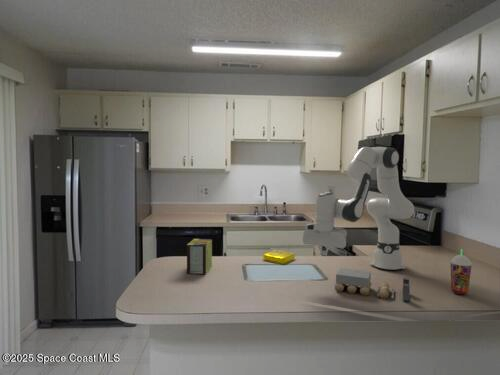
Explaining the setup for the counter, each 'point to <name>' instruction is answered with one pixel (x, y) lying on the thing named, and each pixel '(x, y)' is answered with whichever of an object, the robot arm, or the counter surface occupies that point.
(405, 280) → the posts
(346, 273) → the slab
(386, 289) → the roller
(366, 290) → the roller bed
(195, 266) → the protein box
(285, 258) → the element tile
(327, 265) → the counter surface
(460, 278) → the smoothie
